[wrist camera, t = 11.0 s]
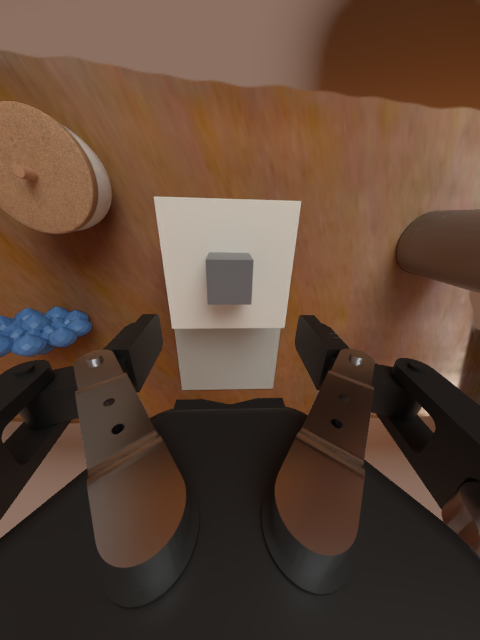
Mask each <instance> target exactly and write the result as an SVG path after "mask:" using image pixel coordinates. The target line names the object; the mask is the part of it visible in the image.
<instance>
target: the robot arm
mask: <svg viewBox="0 0 480 640" xmlns="http://www.w3.org/2000/svg"><path fill="white" fill-rule="evenodd" d="M397 261H398V263H399V265H400V267H401V268H402V269H403V270H405V271H407V272H410V273H413V274H417V275H420V276H423V277H427V278H430V279H433V280H436V281H440V282H443V283H446V284H450V285H453V286H457V287H460V288H463V289H467V290H470V291H473V292H477V293H480V209H477V210H445V211H433V212H429V213H426V214H424V215H422V216H421V217H419V218H417V219H416V220H415V221H414V222H412V223H411V224H410V225H409V227H408V228H407V229H406V230H405V232H404V233H403V235H402V236H401V238H400V241H399V243H398V247H397ZM162 345H163V338H162V332H161V326H160V320H159V316H158V315H157V314H143V315H142V316H141V317H140V318H139V319H138V320H137V321H136V322H135V323H131V324H130V325H128V326H126V327H124V328H123V329H122V330H121V331H120V333H119V334H118V335H117V336H116V338H114V339H113V340H112V341H111V342H110V343H109V344H108V345H107V346H106V347H105V348H104V349H103V350H96V351H92V352H89V353H87V354H84V355H82V356H81V357H79V358H78V359H77V360H76V361H75V362H74V364H73V366H71V367H65V368H60V369H55V370H52V368H51V366H50V364H49V362H48V361H45V360H35V361H29V362H26V363H22V364H19V365H17V366H15V367H12V368H10V369H9V370H7V371H5V372H4V373H3V374H1V375H0V520H1V518H2V517H3V516H4V514H5V513H6V511H7V510H8V508H9V507H10V505H11V504H12V503H13V501H14V500H15V499H16V497H17V496H18V494H19V493H20V492H21V490H22V489H23V487H24V486H25V484H26V483H27V482H28V480H29V479H30V478H31V476H32V475H33V473H34V472H35V471H36V469H37V468H38V466H39V465H40V464H41V462H42V461H43V459H44V458H45V457H46V455H47V454H48V452H49V451H50V450H51V448H52V447H53V445H54V444H55V443H56V441H57V439H58V438H59V437H60V436H61V434H62V433H63V431H64V430H65V428H66V427H67V426H68V424H69V423H70V421H71V420H72V419H76V418H79V422H80V428H81V434H82V440H83V446H84V452H85V458H86V464H87V469H86V470H84V471H83V472H82V473H81V474H79V475H78V476H77V477H76V478H75V479H73V480H72V481H71V482H70V483H68V484H67V485H66V486H65V487H64V488H62V489H61V490H60V491H58V492H57V493H56V494H55V495H54V496H52V497H51V498H50V499H48V500H47V501H46V502H45V503H44V504H42V505H41V506H40V507H39V508H37V509H36V510H35V511H34V512H32V513H31V514H30V515H29V516H27V517H26V518H25V519H24V520H22V521H21V522H20V523H19V524H17V525H16V526H15V527H14V528H13V529H11V530H10V531H9V532H8V533H6V534H5V535H4V536H3V537H1V538H0V640H480V405H478V404H477V403H476V402H475V401H473V400H472V399H471V398H470V397H468V396H467V395H466V394H464V393H463V392H462V391H461V390H459V389H458V388H457V387H456V386H454V385H453V384H452V383H451V382H449V381H448V380H447V379H445V378H444V377H443V376H442V375H440V374H439V373H438V372H437V371H435V370H434V369H433V368H431V367H430V366H428V365H426V364H424V363H422V362H419V361H417V360H413V359H408V358H399V359H397V360H396V362H395V364H394V366H393V367H390V366H384V365H379V364H375V361H374V359H373V358H372V357H371V356H370V355H368V354H366V353H364V352H362V351H359V350H356V349H350V348H349V347H348V346H347V345H346V344H345V343H344V342H343V341H342V340H341V339H340V338H339V336H338V335H337V334H335V332H334V331H333V330H332V329H331V328H330V327H328V326H327V325H325V324H323V323H320V321H319V320H318V319H317V318H316V317H315V316H314V315H300V317H299V319H298V325H297V331H296V337H295V346H296V350H297V352H298V354H299V356H300V358H301V359H302V361H303V363H304V365H305V367H306V369H307V371H308V373H309V375H310V377H311V379H312V381H313V383H314V385H315V387H316V389H317V390H319V392H318V395H317V397H316V399H315V401H314V403H313V405H312V407H311V409H310V412H309V414H308V415H306V414H304V413H302V412H300V411H298V410H296V409H293V408H289V407H285V405H284V402H283V399H282V398H257V399H252V400H248V401H244V402H240V403H235V404H224V403H219V402H214V401H209V400H204V399H196V400H176V403H175V406H174V409H170V410H167V411H164V412H162V413H159V414H157V415H155V416H153V417H152V418H149V416H148V414H147V412H146V410H145V408H144V406H143V404H142V402H141V401H140V399H139V397H138V395H137V393H136V392H140V390H141V388H142V386H143V384H144V382H145V380H146V378H147V376H148V374H149V373H150V371H151V369H152V367H153V365H154V363H155V361H156V359H157V357H158V355H159V353H160V351H161V349H162ZM421 407H423V408H424V409H425V410H426V411H427V412H428V414H429V415H430V416H431V417H432V418H433V420H434V422H435V426H436V429H435V432H434V433H433V432H432V431H431V430H430V429H429V427H428V426H427V425H426V424H425V423H424V422H423V421H422V420H421V418H420V417H419V416H418V415H417V414H418V412H419V410H420V409H421ZM371 412H372V413H376V414H377V416H378V417H379V419H380V420H381V422H382V423H383V425H384V426H385V427H386V429H387V430H388V432H389V433H390V435H391V436H392V438H393V439H394V441H395V442H396V444H397V445H398V447H399V448H400V449H401V451H402V452H403V454H404V455H405V457H406V458H407V460H408V461H409V463H410V464H411V465H412V467H413V469H414V470H415V471H416V473H417V474H418V476H419V477H420V478H421V480H422V482H423V483H424V484H425V486H426V488H427V489H428V490H429V492H430V493H431V495H432V496H433V498H434V499H435V501H436V502H437V504H438V505H439V507H440V508H441V510H442V518H443V521H441V520H440V519H439V518H438V517H436V516H435V515H434V514H433V513H431V512H430V511H429V510H427V509H426V508H425V507H424V506H422V505H421V504H420V503H419V502H417V501H416V500H415V499H413V498H412V497H411V496H410V495H409V494H407V493H406V492H405V491H404V490H402V489H401V488H400V487H398V486H397V485H396V484H395V483H393V482H392V481H390V480H389V479H388V478H387V477H386V476H385V475H383V474H382V473H381V472H379V471H378V470H377V469H376V468H374V467H373V466H372V465H371V464H369V463H368V462H367V461H366V460H364V457H365V450H366V443H367V436H368V429H369V422H370V415H371ZM18 413H19V414H20V415H21V417H22V419H23V420H24V422H23V423H22V424H21V425H20V427H19V428H18V429H17V430H16V431H15V432H14V433H13V434H12V435H11V436H10V437H9V438H8V439H7V440H6V442H4V444H3V442H2V440H1V437H2V432H3V430H4V428H5V427H6V425H7V424H8V423H9V422H10V421H11V420H12V419H13V418H14V417H15V416H16V415H17V414H18Z"/></svg>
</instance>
